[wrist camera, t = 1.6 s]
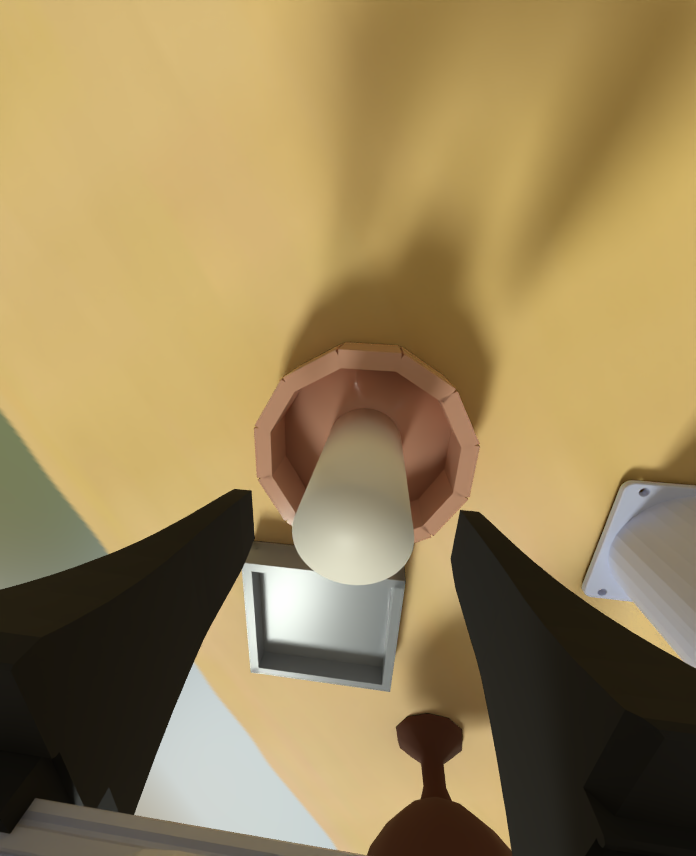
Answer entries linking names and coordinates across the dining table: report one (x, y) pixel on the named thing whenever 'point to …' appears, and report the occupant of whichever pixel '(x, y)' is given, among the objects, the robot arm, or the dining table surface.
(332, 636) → the tray
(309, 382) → the terracotta bowl
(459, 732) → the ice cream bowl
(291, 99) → the dining table surface
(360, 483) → the peg
